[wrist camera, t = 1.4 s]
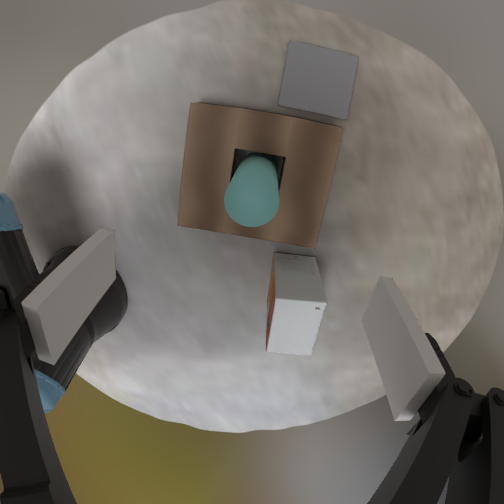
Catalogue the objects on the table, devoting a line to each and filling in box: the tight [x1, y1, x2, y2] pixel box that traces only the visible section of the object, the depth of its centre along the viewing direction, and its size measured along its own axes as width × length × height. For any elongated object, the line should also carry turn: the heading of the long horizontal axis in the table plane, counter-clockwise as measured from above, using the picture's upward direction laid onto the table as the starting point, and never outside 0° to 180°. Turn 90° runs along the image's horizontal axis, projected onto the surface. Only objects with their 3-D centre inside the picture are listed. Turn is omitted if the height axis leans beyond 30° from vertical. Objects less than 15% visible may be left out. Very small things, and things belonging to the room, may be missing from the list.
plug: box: [224, 152, 279, 227], centre depth 31 cm, size 4×4×13 cm
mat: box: [278, 40, 358, 120], centre depth 32 cm, size 8×8×1 cm
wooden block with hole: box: [178, 103, 343, 249], centre depth 35 cm, size 16×14×4 cm
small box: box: [266, 253, 327, 356], centre depth 39 cm, size 8×6×10 cm
